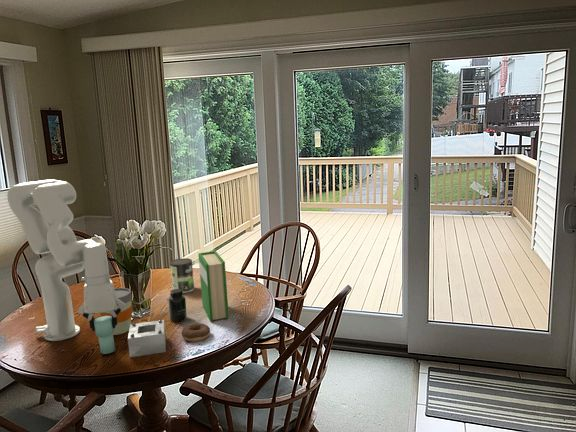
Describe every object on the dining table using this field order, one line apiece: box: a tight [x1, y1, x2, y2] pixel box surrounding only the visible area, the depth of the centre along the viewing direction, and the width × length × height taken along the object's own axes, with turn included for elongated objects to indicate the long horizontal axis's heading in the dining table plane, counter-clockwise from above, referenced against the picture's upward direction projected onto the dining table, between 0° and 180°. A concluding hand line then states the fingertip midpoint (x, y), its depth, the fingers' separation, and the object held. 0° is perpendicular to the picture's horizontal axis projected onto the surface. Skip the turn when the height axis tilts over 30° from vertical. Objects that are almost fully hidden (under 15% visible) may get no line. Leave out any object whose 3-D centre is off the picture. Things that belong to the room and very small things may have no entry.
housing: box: [127, 319, 167, 358], centre depth 171 cm, size 12×12×8 cm
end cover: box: [94, 316, 116, 355], centre depth 167 cm, size 6×6×12 cm
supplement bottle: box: [168, 289, 188, 322], centre depth 194 cm, size 7×7×12 cm
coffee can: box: [169, 257, 195, 294], centre depth 227 cm, size 10×10×14 cm
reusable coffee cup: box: [99, 287, 133, 336], centre depth 186 cm, size 13×13×15 cm
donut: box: [180, 322, 211, 342], centre depth 178 cm, size 11×11×4 cm
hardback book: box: [198, 250, 230, 323], centre depth 197 cm, size 18×7×24 cm, turn 20°
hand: (104, 327), depth 167 cm, fingers closed on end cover, 6 cm apart
